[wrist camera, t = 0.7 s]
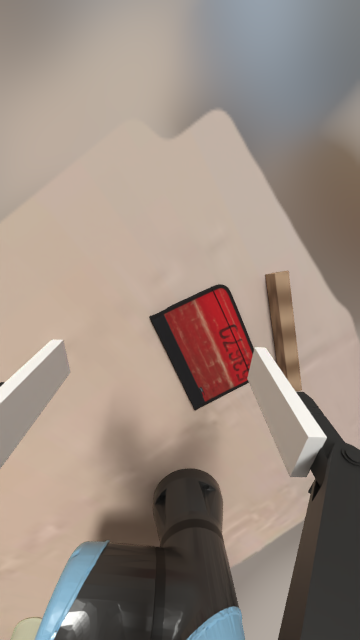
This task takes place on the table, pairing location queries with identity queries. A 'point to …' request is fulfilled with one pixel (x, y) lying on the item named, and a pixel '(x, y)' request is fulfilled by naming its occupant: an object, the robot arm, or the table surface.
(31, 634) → the can
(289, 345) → the rail
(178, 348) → the binder
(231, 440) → the table surface
